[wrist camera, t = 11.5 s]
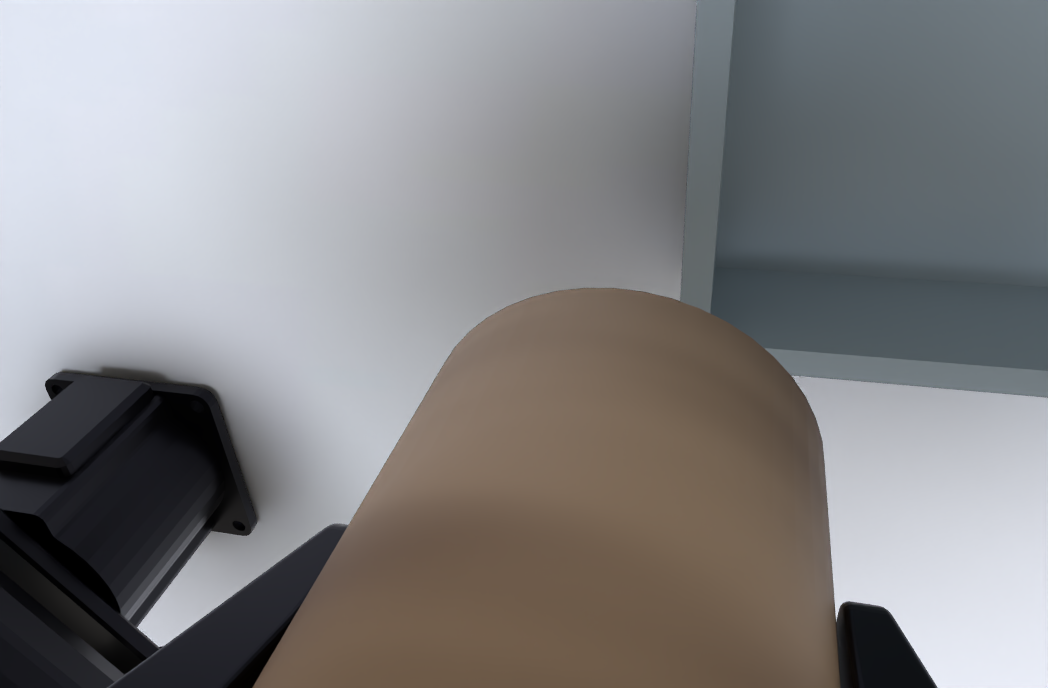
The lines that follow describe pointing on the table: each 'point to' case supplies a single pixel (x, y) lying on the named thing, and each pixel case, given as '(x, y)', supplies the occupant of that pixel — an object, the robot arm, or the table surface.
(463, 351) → the walnut cylinder
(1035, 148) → the tote
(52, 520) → the robot arm
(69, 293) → the table surface
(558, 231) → the table surface
